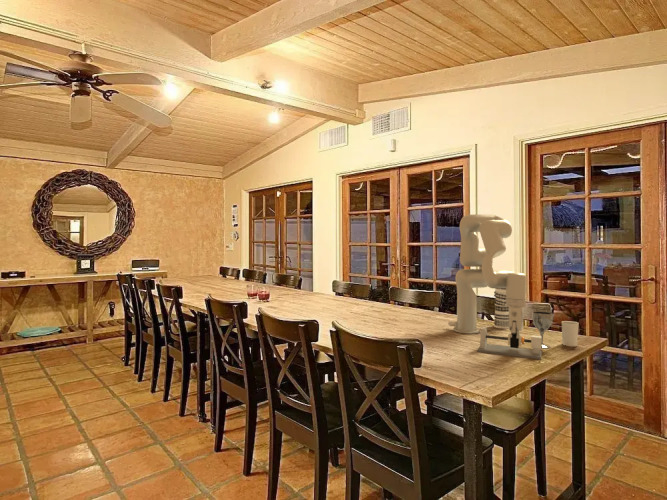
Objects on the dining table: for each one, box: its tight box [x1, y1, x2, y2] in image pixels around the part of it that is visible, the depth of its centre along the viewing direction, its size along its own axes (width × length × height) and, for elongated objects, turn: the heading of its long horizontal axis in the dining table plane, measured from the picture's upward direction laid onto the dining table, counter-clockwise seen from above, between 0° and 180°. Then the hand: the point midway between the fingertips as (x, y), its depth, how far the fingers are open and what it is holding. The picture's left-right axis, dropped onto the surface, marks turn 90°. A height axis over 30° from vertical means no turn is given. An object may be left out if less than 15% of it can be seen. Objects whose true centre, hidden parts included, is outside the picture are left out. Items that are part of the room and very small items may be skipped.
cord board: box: [477, 326, 543, 360], centre depth 182 cm, size 24×12×9 cm, turn 63°
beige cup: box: [561, 320, 579, 347], centre depth 194 cm, size 7×7×10 cm
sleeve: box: [507, 332, 523, 347], centre depth 181 cm, size 5×4×4 cm
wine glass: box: [531, 310, 553, 349], centre depth 191 cm, size 8×8×15 cm
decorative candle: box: [493, 288, 509, 330], centre depth 231 cm, size 9×9×25 cm
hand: (514, 346), depth 181 cm, fingers closed on sleeve, 4 cm apart
